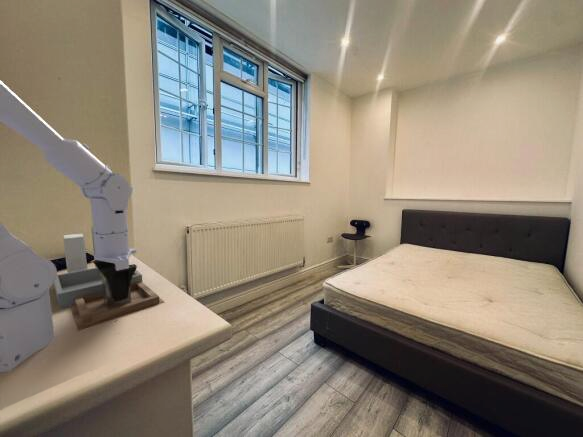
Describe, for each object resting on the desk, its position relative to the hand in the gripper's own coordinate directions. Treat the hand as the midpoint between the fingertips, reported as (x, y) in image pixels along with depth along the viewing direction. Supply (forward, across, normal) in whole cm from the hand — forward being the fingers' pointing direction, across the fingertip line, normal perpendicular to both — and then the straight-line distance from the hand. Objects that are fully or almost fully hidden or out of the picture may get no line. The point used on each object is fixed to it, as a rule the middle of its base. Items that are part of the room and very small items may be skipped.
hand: (116, 294), depth 50 cm
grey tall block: (+2, 0, 0) cm, 2 cm away
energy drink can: (+3, +33, -4) cm, 34 cm away
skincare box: (+3, +30, +3) cm, 31 cm away
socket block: (+3, 0, 0) cm, 3 cm away
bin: (+3, +13, +1) cm, 14 cm away
